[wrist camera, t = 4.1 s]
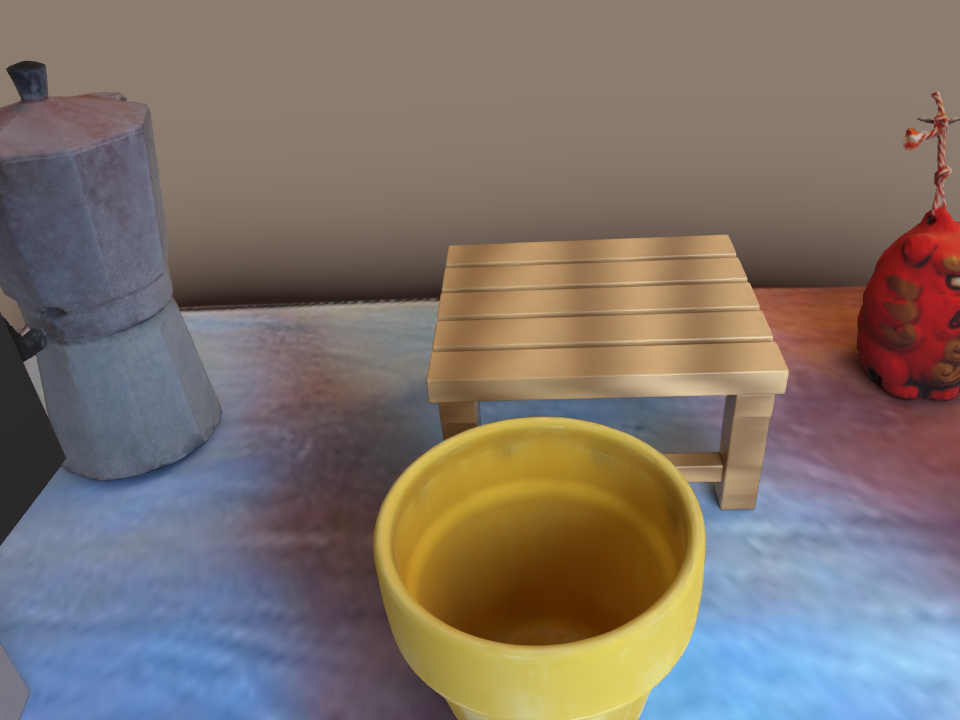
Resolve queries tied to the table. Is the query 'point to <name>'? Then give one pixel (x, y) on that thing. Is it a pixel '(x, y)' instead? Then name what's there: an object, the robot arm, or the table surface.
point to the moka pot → (97, 281)
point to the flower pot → (541, 569)
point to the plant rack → (611, 338)
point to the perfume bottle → (11, 689)
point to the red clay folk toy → (917, 297)
